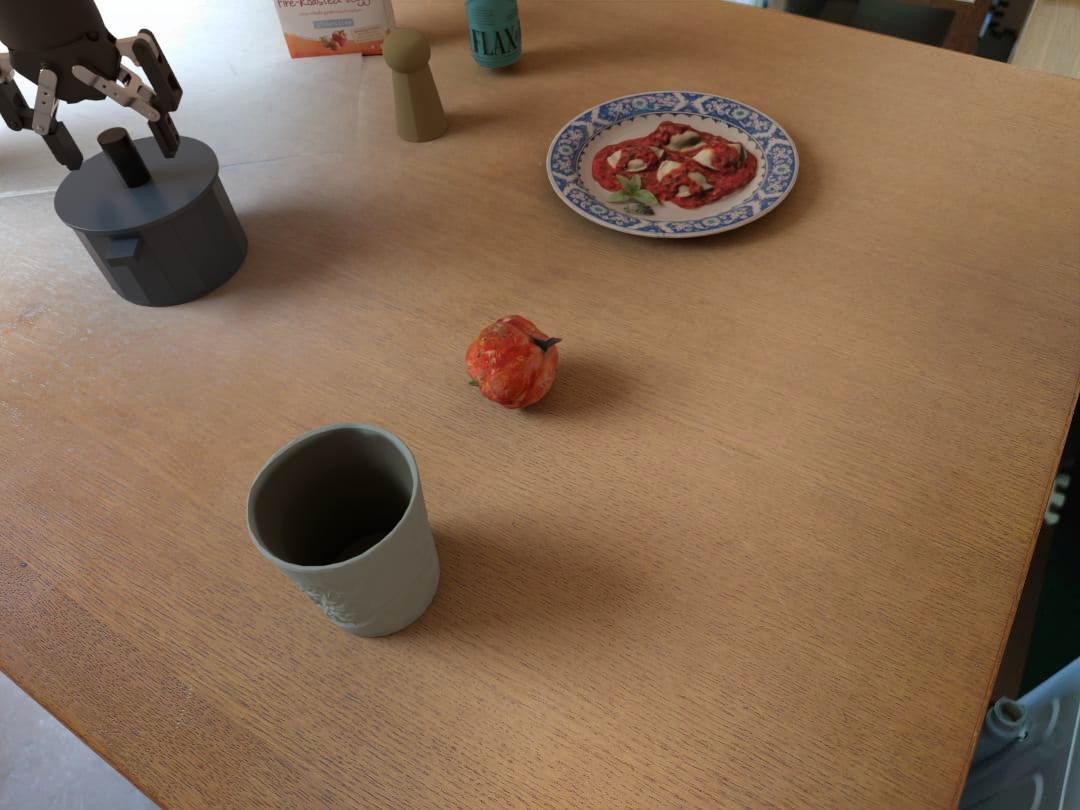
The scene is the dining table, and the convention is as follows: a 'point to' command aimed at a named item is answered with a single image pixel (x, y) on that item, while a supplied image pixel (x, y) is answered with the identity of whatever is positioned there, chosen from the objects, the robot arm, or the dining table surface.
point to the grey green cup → (348, 526)
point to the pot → (174, 254)
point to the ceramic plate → (672, 164)
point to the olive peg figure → (414, 86)
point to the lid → (134, 184)
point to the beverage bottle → (494, 32)
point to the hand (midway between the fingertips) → (124, 159)
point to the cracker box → (335, 26)
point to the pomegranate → (512, 362)
